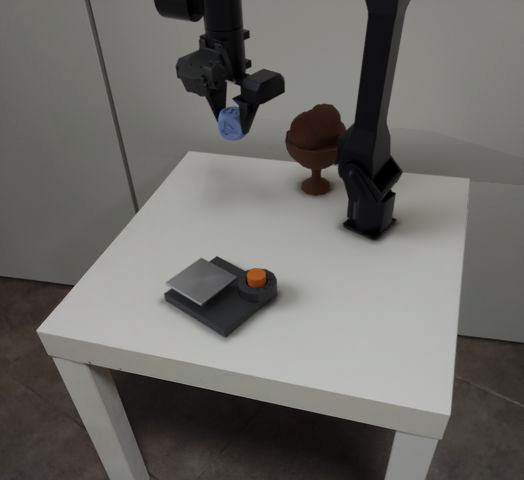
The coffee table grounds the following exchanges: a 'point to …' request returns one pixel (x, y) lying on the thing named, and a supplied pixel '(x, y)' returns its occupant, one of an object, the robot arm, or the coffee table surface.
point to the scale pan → (201, 281)
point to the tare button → (256, 278)
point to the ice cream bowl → (315, 144)
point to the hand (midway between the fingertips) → (233, 129)
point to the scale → (227, 300)
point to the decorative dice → (230, 124)
